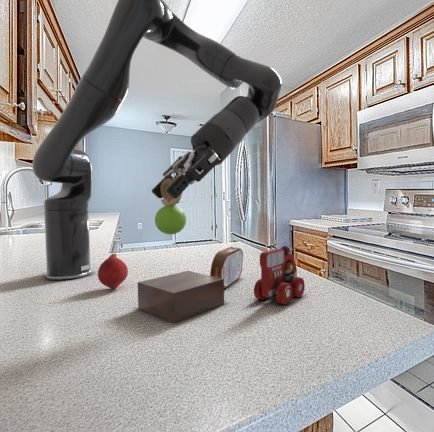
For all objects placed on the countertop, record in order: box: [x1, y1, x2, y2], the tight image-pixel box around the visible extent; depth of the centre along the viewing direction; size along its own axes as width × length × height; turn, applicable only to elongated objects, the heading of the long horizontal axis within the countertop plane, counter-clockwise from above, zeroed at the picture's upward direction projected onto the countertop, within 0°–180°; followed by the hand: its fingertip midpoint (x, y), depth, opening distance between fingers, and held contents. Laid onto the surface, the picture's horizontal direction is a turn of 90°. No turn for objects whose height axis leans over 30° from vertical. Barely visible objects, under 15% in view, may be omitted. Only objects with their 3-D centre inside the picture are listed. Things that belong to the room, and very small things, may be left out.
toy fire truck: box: [253, 245, 306, 305], centre depth 63 cm, size 7×12×10 cm, turn 149°
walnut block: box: [137, 270, 225, 324], centre depth 58 cm, size 11×11×5 cm
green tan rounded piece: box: [154, 168, 187, 235], centre depth 56 cm, size 5×6×12 cm
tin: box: [209, 246, 244, 289], centre depth 73 cm, size 15×3×8 cm, turn 169°
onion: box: [97, 252, 129, 290], centre depth 69 cm, size 6×6×8 cm
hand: (162, 194), depth 55 cm, fingers closed on green tan rounded piece, 6 cm apart
